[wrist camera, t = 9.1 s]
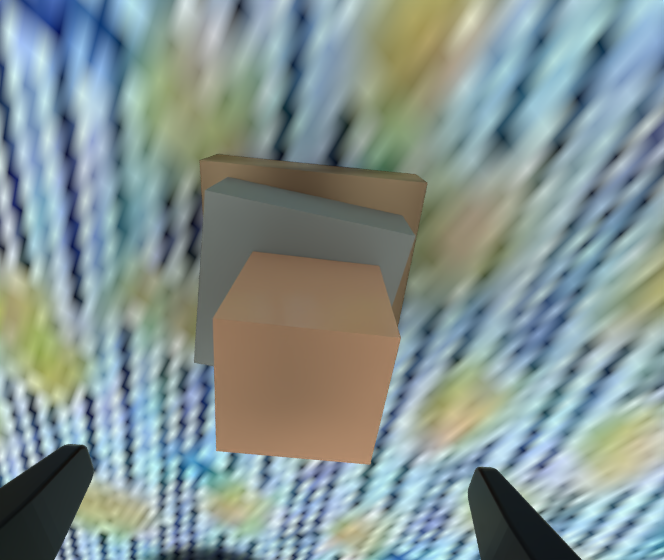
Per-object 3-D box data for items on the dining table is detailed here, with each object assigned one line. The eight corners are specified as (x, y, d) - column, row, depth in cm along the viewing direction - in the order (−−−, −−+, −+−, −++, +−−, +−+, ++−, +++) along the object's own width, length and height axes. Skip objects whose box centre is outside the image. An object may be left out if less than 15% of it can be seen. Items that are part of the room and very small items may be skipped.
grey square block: (402, 215, 16) (415, 236, 13) (359, 354, 20) (363, 392, 17) (228, 176, 16) (205, 190, 13) (214, 326, 19) (194, 362, 16)
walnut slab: (414, 172, 18) (427, 183, 16) (383, 333, 23) (390, 363, 20) (220, 153, 18) (199, 160, 15) (226, 320, 22) (211, 349, 20)
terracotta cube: (379, 265, 14) (400, 338, 9) (360, 366, 16) (370, 464, 12) (252, 251, 14) (212, 318, 9) (249, 355, 16) (216, 450, 11)
